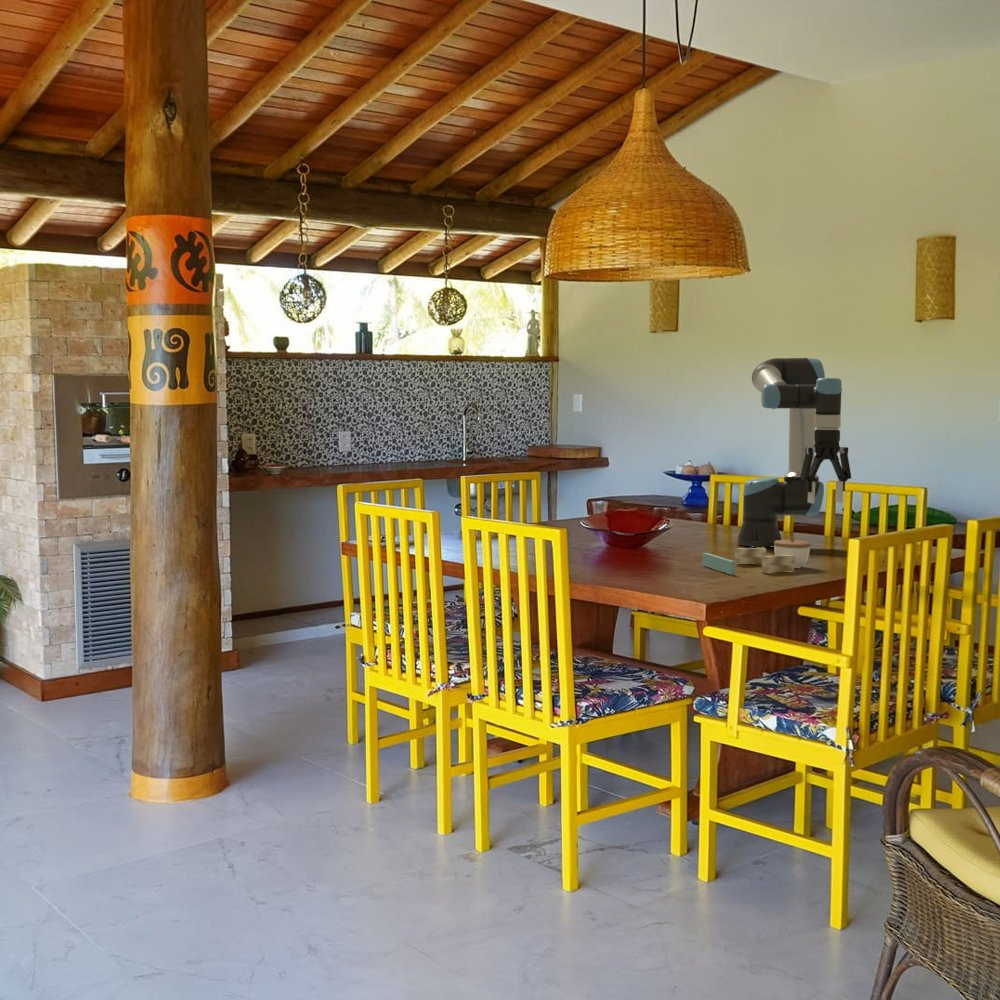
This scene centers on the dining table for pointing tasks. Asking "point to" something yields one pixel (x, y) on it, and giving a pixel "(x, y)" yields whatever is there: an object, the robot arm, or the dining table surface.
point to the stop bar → (718, 563)
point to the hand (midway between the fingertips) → (825, 502)
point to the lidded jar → (793, 550)
